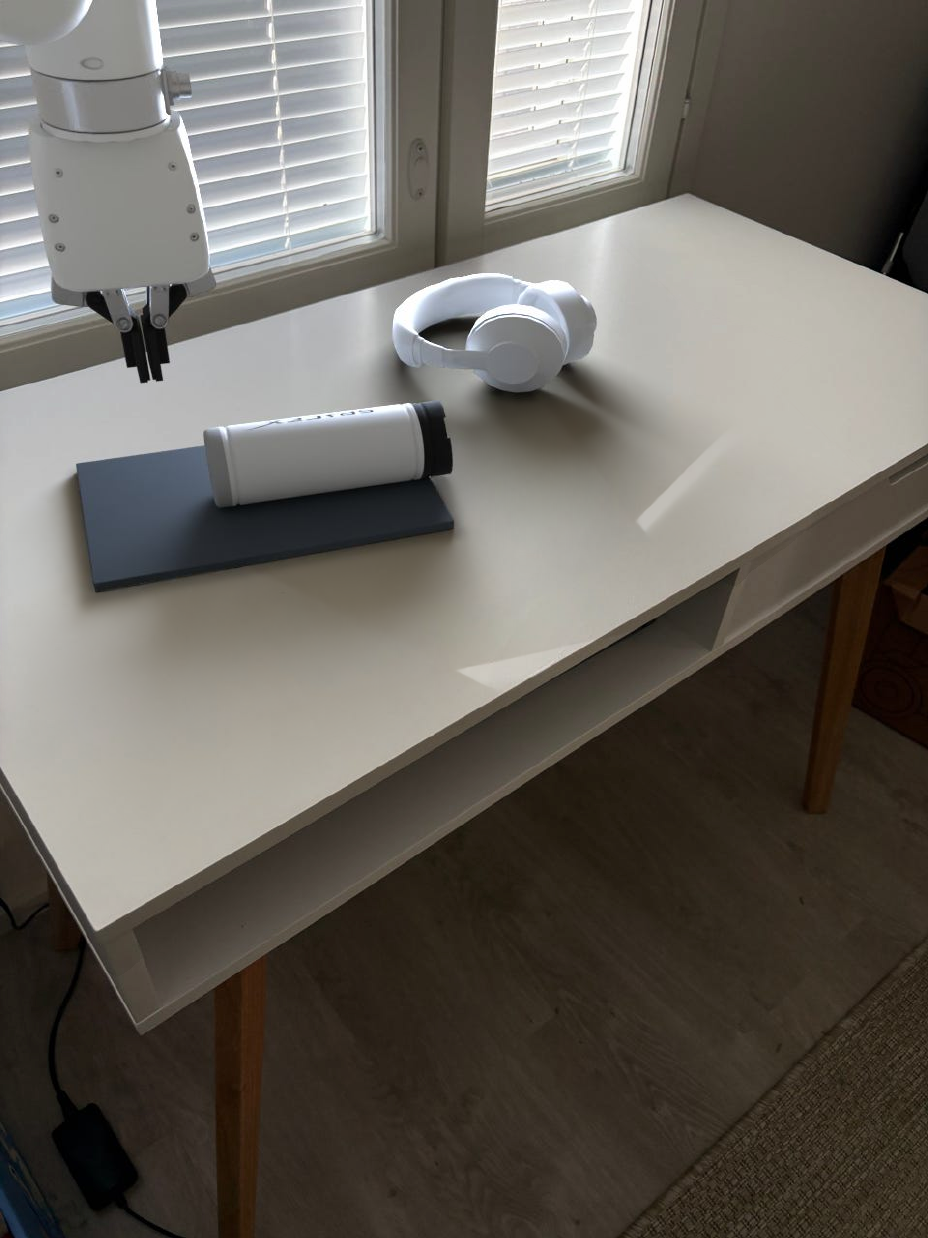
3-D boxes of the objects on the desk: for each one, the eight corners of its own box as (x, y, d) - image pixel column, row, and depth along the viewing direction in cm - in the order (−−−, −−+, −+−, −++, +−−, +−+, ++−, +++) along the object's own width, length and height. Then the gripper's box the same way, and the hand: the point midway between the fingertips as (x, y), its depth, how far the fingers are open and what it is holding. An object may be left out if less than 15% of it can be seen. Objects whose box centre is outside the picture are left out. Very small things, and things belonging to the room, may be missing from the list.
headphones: (624, 348, 104) (466, 314, 114) (627, 273, 99) (462, 244, 109) (528, 422, 93) (361, 377, 103) (526, 341, 88) (352, 302, 98)
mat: (95, 592, 74) (92, 584, 74) (77, 471, 85) (75, 463, 84) (454, 528, 82) (454, 520, 81) (396, 424, 93) (396, 417, 92)
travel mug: (216, 517, 83) (449, 483, 88) (217, 496, 76) (468, 460, 82) (202, 444, 83) (434, 414, 88) (202, 417, 77) (452, 387, 82)
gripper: (218, 74, 65) (244, 337, 77) (-33, 83, 61) (37, 359, 73) (239, 111, 60) (263, 386, 72) (-33, 123, 56) (42, 413, 68)
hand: (149, 372), depth 73 cm, fingers closed
